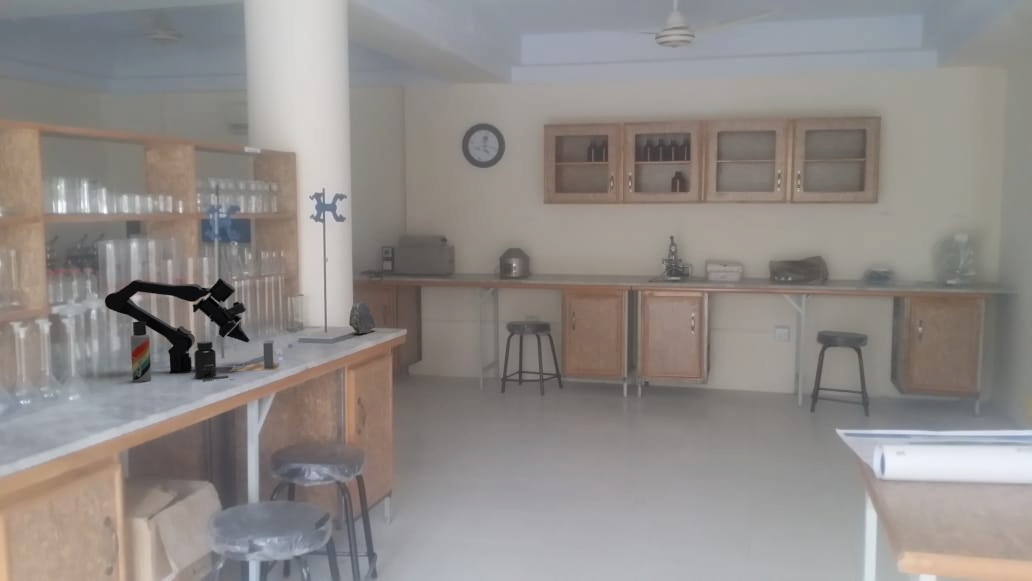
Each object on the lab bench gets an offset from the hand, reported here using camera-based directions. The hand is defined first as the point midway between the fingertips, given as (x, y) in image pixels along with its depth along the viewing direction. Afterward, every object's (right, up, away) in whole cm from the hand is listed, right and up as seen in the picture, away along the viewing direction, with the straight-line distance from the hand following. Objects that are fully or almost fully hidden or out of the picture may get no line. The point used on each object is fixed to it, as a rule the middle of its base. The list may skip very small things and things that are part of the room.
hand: (248, 341), depth 293 cm
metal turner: (-2, -12, -16) cm, 20 cm away
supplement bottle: (-10, -11, -13) cm, 20 cm away
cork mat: (+2, -10, +1) cm, 10 cm away
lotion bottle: (-29, -12, -19) cm, 37 cm away
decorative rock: (+25, -2, +82) cm, 86 cm away
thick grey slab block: (+7, -9, +2) cm, 12 cm away
